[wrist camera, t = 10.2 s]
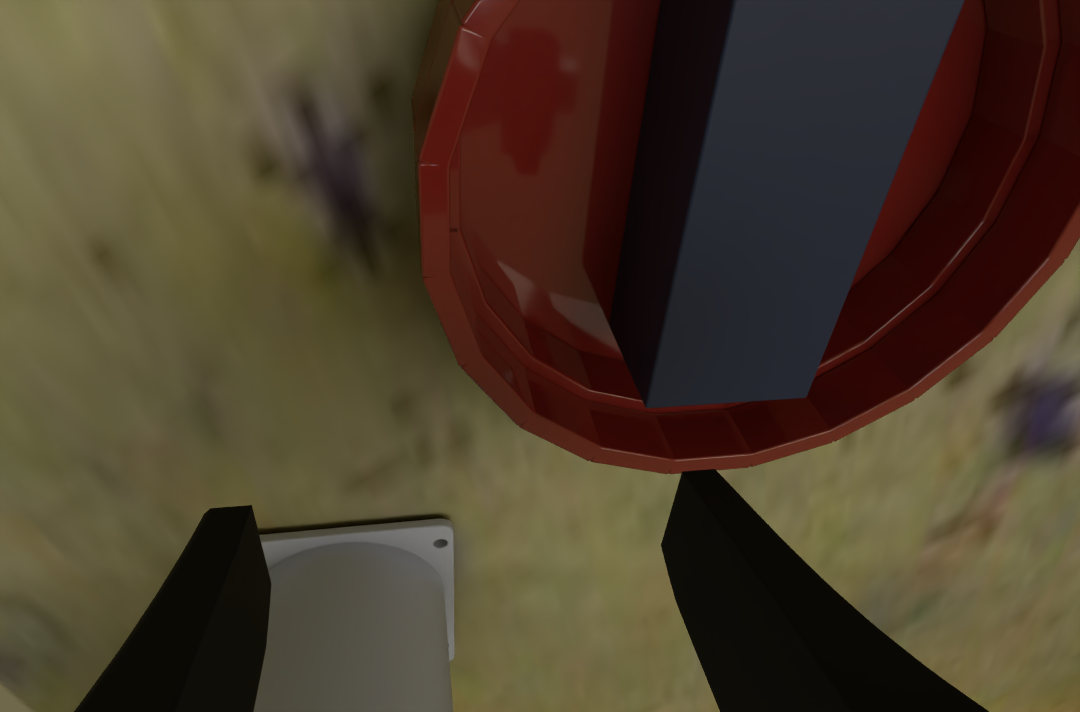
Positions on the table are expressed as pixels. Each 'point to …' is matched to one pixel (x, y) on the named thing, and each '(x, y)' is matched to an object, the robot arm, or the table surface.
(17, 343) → the table surface
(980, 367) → the table surface
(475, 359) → the bowl
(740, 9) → the dark blue-grey block
